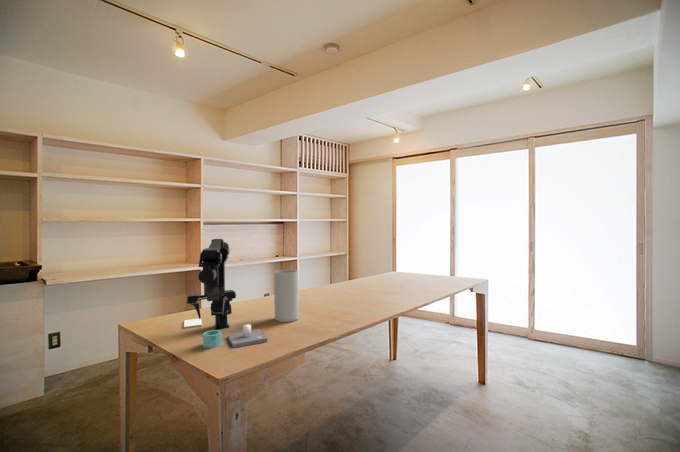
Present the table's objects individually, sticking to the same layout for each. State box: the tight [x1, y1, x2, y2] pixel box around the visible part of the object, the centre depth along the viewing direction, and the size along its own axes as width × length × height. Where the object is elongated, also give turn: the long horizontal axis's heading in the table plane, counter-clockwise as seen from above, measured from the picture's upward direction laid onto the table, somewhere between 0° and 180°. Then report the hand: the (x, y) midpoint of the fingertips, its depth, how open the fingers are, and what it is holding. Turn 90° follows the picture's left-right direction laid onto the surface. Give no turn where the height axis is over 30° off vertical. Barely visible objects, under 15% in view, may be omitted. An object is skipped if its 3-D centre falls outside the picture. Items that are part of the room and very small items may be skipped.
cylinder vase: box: [273, 269, 300, 323], centre depth 174 cm, size 12×12×25 cm
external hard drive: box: [183, 318, 203, 330], centre depth 168 cm, size 2×8×12 cm
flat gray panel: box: [227, 324, 268, 349], centre depth 144 cm, size 14×14×6 cm
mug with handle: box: [202, 329, 223, 349], centre depth 138 cm, size 8×7×5 cm
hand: (211, 317), depth 138 cm, fingers open, 9 cm apart
